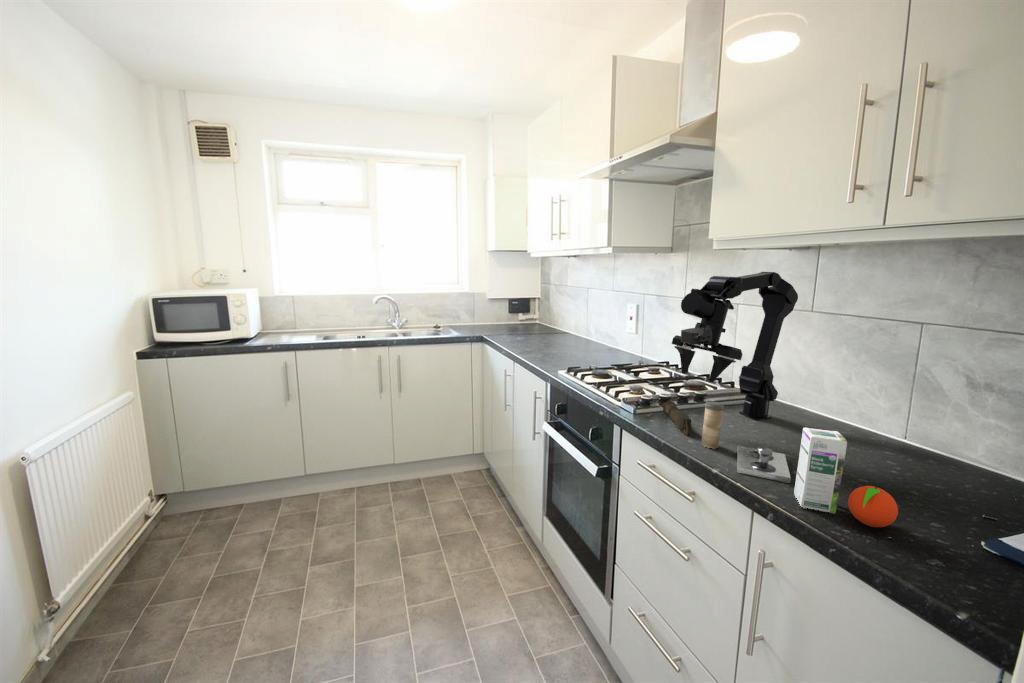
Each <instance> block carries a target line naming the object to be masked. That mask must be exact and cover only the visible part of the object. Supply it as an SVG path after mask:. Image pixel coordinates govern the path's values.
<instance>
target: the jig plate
mask: <svg viewBox="0 0 1024 683" xmlns="http://www.w3.org/2000/svg"><path fill="white" fill-rule="evenodd" d="M736 451H737V452H736V453H737V457H736V458H737V459H736V462H737V464H736V469H737V470H736V471H737V472H736V473H739V474H743V475H748V476H753V477H758V478H762V479H768V480H772V481H777V482H780V483H781V482H782V483H787V484H791V473H790V469H789V466H788V462H787V457H786V454H785V453H780V452H775V451H774V450H773V449H771V448H770V447H765V446H758V448H755V447H754V448H753V447H748V446H742V445H737V449H736Z"/></svg>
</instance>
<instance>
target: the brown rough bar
mask: <svg viewBox="0 0 1024 683" xmlns="http://www.w3.org/2000/svg"><path fill="white" fill-rule="evenodd" d="M662 411H663V413H664V412H665V413H664V414H665V415H667V416H668V417H669V418H670V420H672V422H673V423H674V424H675V426H676V428H678V429H679V430H680V431H681V433H682V434H683V433H684V434H683V435H685V436H690V432H691V429H692V419H691V418H690V416H689V415H687V414H684V413H682V411H681V410H680V409H679V408H678V407H677V404H676V403H675V402H673V401H666V402H664V403H662ZM678 429H677V430H678ZM679 430H678V431H679ZM680 431H679V432H680ZM688 434H689V435H688Z"/></svg>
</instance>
